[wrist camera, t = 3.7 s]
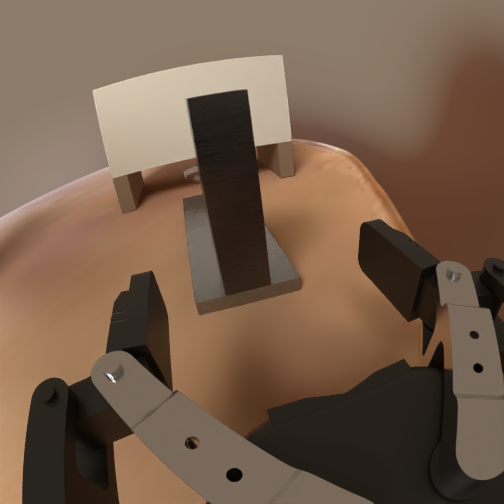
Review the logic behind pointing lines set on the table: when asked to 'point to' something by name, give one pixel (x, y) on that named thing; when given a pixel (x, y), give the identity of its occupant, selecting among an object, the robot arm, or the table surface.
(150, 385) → the robot arm
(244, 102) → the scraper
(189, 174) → the steel token
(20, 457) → the table surface
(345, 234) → the table surface
